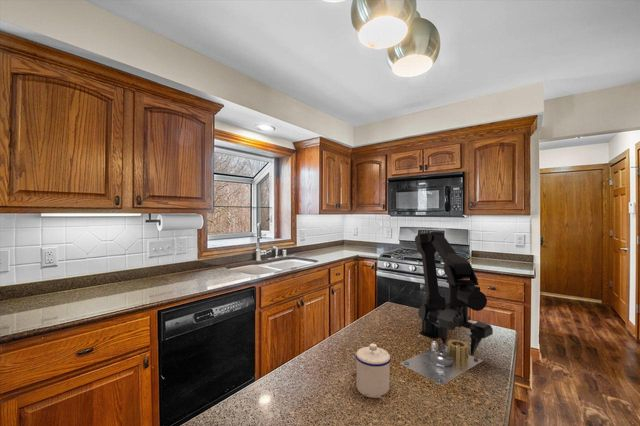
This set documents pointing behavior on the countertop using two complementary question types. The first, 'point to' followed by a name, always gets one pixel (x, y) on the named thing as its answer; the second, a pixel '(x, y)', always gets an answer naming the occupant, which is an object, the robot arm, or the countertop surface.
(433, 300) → the robot arm
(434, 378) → the carrier plate
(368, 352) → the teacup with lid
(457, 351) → the planet gear
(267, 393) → the countertop surface
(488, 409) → the countertop surface
